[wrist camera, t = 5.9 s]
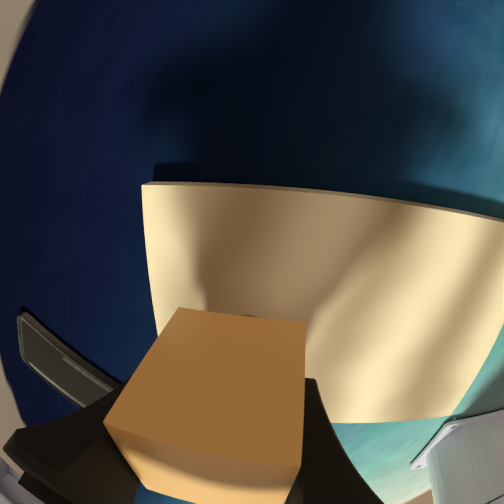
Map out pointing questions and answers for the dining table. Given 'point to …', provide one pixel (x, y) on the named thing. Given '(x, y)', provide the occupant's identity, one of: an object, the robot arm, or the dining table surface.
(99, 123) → the dining table surface
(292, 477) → the tan foam cube
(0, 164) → the dining table surface
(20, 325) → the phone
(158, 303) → the board
